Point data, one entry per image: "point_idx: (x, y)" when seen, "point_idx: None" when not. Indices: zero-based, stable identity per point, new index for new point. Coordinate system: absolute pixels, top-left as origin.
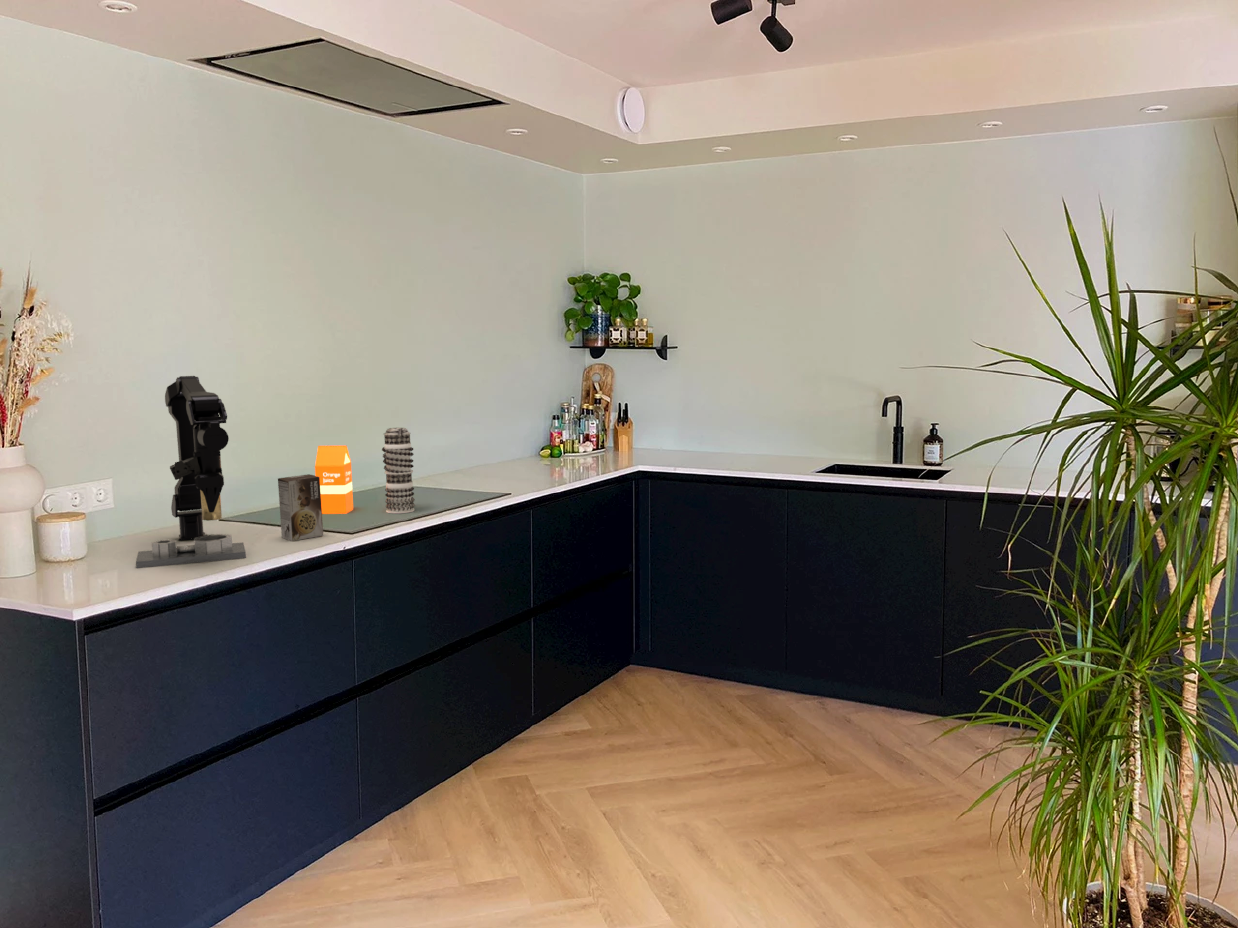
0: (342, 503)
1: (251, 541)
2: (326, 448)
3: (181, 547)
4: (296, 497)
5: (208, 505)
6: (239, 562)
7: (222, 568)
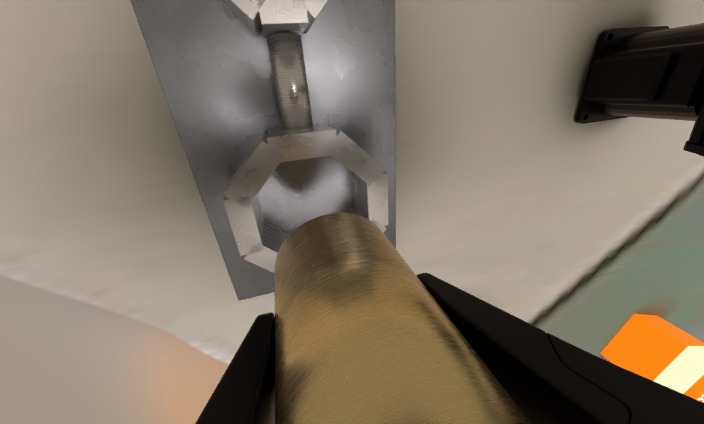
0: (626, 366)
1: (465, 253)
2: None
3: (275, 63)
4: None
5: (227, 380)
6: (169, 283)
7: (55, 251)
